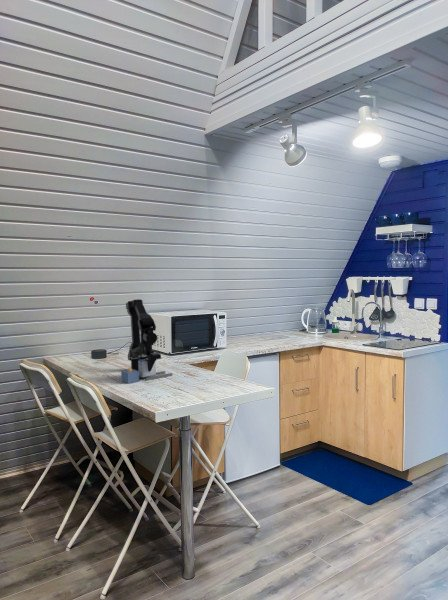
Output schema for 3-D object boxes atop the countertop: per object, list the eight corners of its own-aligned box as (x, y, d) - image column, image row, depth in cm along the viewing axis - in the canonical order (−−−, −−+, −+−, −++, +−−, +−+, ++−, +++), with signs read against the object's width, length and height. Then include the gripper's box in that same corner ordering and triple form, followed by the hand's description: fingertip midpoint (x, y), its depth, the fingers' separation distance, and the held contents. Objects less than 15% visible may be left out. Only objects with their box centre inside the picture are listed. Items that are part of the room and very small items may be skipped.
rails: (138, 377, 236) (138, 375, 236) (163, 373, 247) (163, 371, 247) (146, 380, 230) (146, 378, 230) (172, 375, 240) (172, 373, 240)
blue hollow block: (121, 381, 229) (121, 370, 229) (132, 379, 233) (131, 368, 233) (128, 383, 224) (127, 372, 224) (138, 381, 228) (138, 370, 228)
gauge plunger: (127, 376, 229) (126, 369, 228) (130, 376, 230) (130, 368, 230) (129, 377, 227) (128, 369, 227) (133, 376, 228) (132, 369, 228)
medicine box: (151, 373, 239) (151, 357, 239) (156, 375, 236) (155, 358, 235) (138, 376, 234) (137, 359, 234) (142, 377, 231) (142, 360, 230)
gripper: (123, 341, 236) (124, 370, 237) (142, 345, 222) (142, 376, 223) (142, 338, 243) (143, 367, 244) (161, 342, 229) (162, 372, 230)
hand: (147, 370), depth 235 cm, fingers closed on medicine box, 4 cm apart
